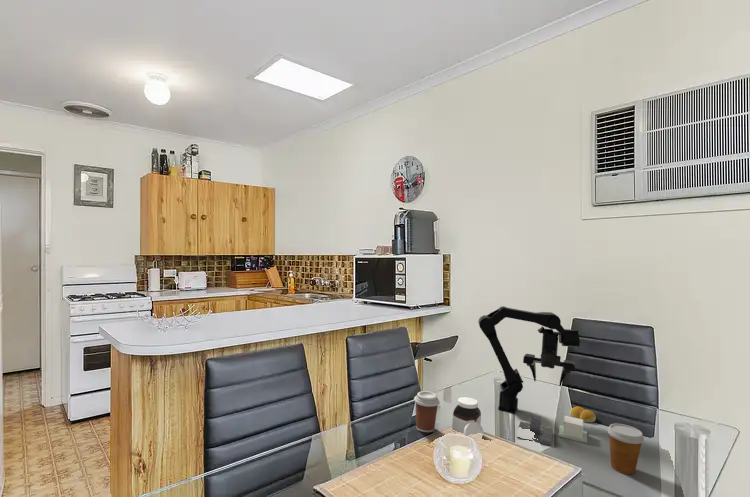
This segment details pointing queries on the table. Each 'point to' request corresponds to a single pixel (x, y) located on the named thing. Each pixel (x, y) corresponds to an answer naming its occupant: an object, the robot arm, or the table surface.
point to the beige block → (573, 427)
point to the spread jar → (467, 417)
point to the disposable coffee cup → (624, 447)
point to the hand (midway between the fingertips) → (547, 383)
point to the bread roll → (582, 414)
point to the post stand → (538, 430)
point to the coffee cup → (426, 410)
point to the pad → (561, 431)
